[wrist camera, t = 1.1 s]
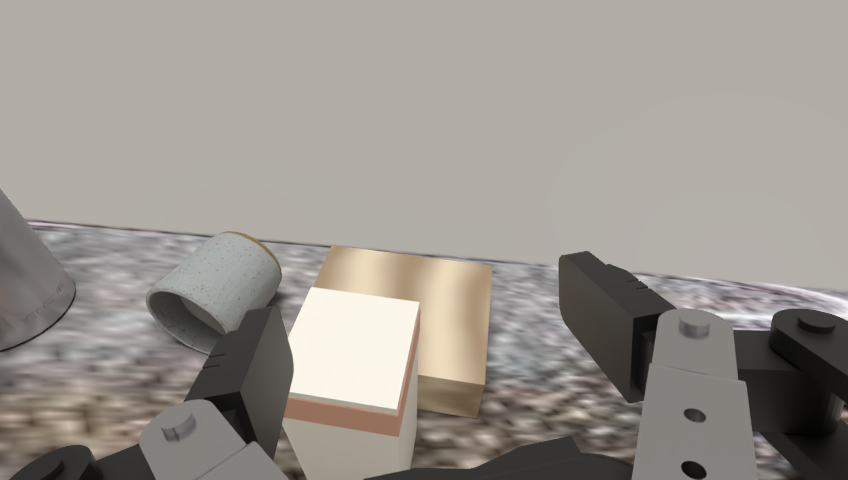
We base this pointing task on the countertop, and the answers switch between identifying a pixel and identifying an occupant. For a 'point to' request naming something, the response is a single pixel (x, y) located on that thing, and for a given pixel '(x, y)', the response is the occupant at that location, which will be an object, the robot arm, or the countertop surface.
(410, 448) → the carton
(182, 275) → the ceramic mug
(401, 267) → the tan wooden block
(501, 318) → the countertop surface
